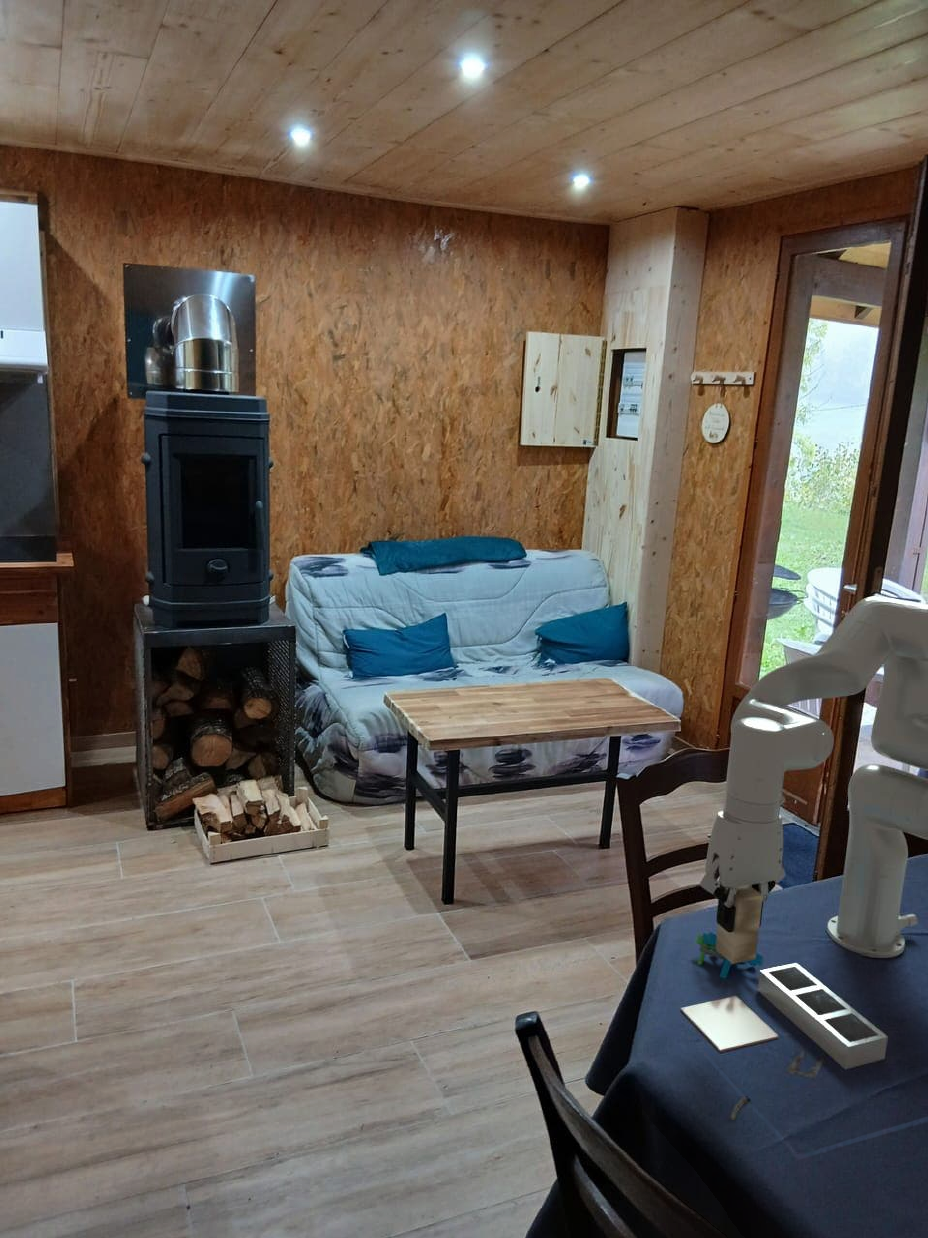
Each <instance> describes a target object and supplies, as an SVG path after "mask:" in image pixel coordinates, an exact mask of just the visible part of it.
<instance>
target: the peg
mask: <svg viewBox="0 0 928 1238" xmlns="http://www.w3.org/2000/svg"><path fill="white" fill-rule="evenodd" d="M727 889H728V888H726V890H725V894H726V893H727ZM762 899H763V895H762V894H760V893H759V892H758V891H756V890H755V889H754V888H752V887H751V886H750V885H747V886H740V887H738V888H737V891H736V895H735V899H734V902H733V906H735V907H736V910H735V919H734V928H733V932H730V933H728V932H727V931H726V930H725V929H724V928H722V927H721V926H720V925H719V924H718V923H717V924H718V925H717V929H716V930H717V931H716V936H717V940H716V950H717V951H718V952H719V953H721V954H722V955H723V956H724V957H725V958H726V959H728V960H729V961H730V962H731V965H732V964H738V963H742V962H744V961H749V960H754V959H756V953H757V949H758V941H759V940H758V939H759V933H760V932H759V931H760V927H759V925H760V916H761V907H762Z"/></svg>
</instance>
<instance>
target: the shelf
mask: <svg viewBox="0 0 928 1238" xmlns="http://www.w3.org/2000/svg"><path fill="white" fill-rule="evenodd" d="M758 977H759V978H758V986H757V992H758V993H759V994H760V995H762V996H763V997H764V998H765V1000H767V1001H768V1002H769V1003H771V1004H772V1005H773V1007H775V1008H776V1009H777V1010H779V1011H780V1013H782V1014H783V1015H784V1016H785V1017H786V1018H787V1019H788V1020H790V1021H791V1023H793V1024H794V1025H795V1026H796V1027H797V1028H799V1029H800V1031H802V1032H803V1033H804V1034H805V1035H806V1036H807V1037H808V1038H810V1039H811V1041H813V1042H814V1043H815V1044H816V1045H817V1046H818V1047H820V1048H821V1049H822V1050H823V1052H825V1053H826V1054H827V1055H828V1056H830V1057H831V1058H832V1059H833V1060H834V1061H835V1062H836V1063H838V1065H840V1067H842V1068H843V1070H849V1069H852V1068H856V1067H859V1066H864V1065H867V1064H871V1063H875V1062H879V1061H882V1060H885V1058H886V1051H887V1046H888V1045H887V1044H888V1038H889V1037H888V1036H887V1035H886V1034H885V1033H884V1032H883V1031H881V1030H880V1029H879V1028H878V1027H877V1026H875V1025H874V1024H873V1023H871V1022H870V1021H869V1020H868V1019H867V1018H866V1017H864V1016H863V1015H861V1014H860V1013H859V1012H858V1011H857V1010H855V1009H854V1008H853V1007H851V1005H849V1004H848V1003H847V1002H846V1001H844V1000H843V999H842V998H841V997H840V996H838V995H837V994H836V993H834V992H833V991H832V990H830V989H829V988H828V987H827V986H826V985H824V984H823V982H821V981H820V980H819V979H818V978H816V977H814V976H813V975H812V974H811V973H810V972H808V971H807V970H806V969H805V968H803V966H801V965H800V964H798V963H797V962H794V963H790V964H785V965H781V966H775V967H771V968H766V969H762V970H759V976H758Z"/></svg>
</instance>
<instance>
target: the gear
mask: <svg viewBox="0 0 928 1238" xmlns="http://www.w3.org/2000/svg"><path fill="white" fill-rule="evenodd" d="M716 940H717V934H715V933H713V932H711V931H710V932H708V933H705V932H703V934H702V935H700V934H699V935H697V937H696V941H695V943H696V945H698V946H699V949H698V951H699V952H700V955H699V958H698V961H697V965H698V966H701V965H703V963H704V959H705V957H706V956H707V955H708V956H711V957H714V958H717V959H720V960H723V961H724V962H723V966H722V968H721V971H720V974H719V977H720V978H722V979H727V977H728V974H729V971H730V968H731V966H732V963H731V962H730V961H729V960H728V959H726V958H725V957H724V956H723V955H722V954H721V953H720V952H718V951H717V950H716ZM741 963H743V964H746V963H747V964H749V965H750V966H751V967H757V966H759V967H762V966H763V963H764V959H763V956H762V955H761V954H760V953H757V952H756V959H754V960H749V961H744V962H741Z"/></svg>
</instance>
